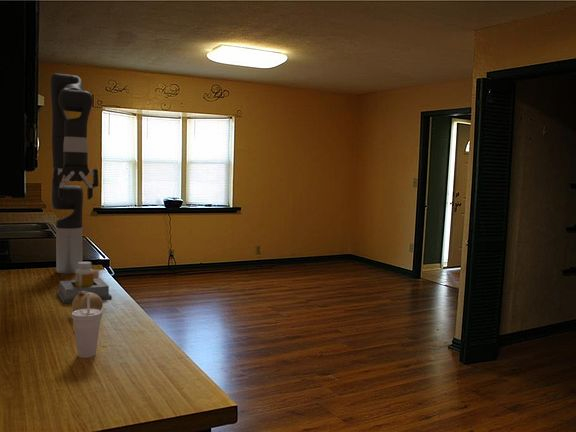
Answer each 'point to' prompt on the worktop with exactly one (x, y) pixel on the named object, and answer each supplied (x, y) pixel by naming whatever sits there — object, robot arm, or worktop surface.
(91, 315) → the smoothie
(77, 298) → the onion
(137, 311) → the worktop surface
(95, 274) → the brown egg
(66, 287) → the collar socket
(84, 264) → the supplement bottle
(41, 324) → the worktop surface
